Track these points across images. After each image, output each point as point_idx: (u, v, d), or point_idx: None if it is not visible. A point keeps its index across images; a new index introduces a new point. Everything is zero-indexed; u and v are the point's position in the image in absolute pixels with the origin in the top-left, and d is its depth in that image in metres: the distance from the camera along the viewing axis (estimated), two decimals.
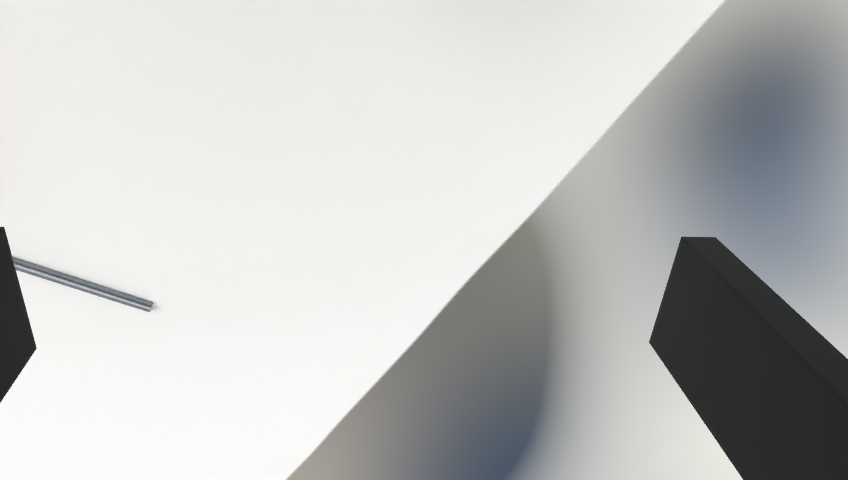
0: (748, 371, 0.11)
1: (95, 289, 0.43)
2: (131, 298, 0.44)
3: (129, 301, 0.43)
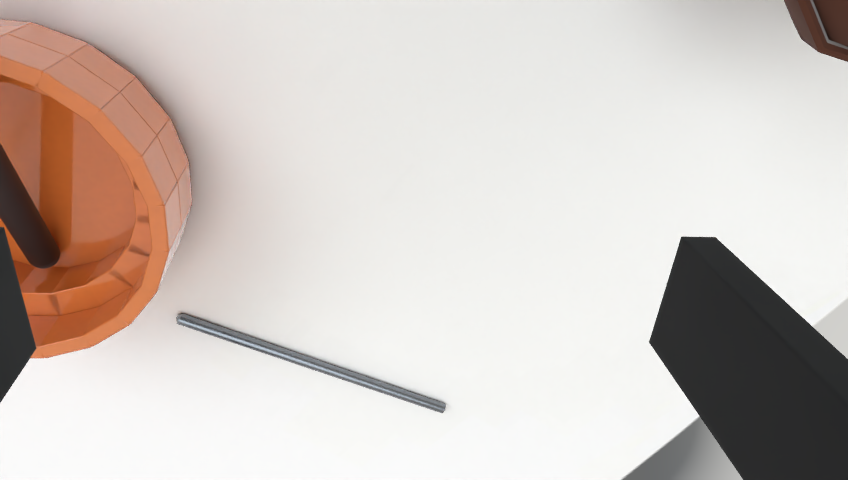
0: (748, 371, 0.11)
1: (398, 392, 0.43)
2: (428, 400, 0.44)
3: (426, 403, 0.44)
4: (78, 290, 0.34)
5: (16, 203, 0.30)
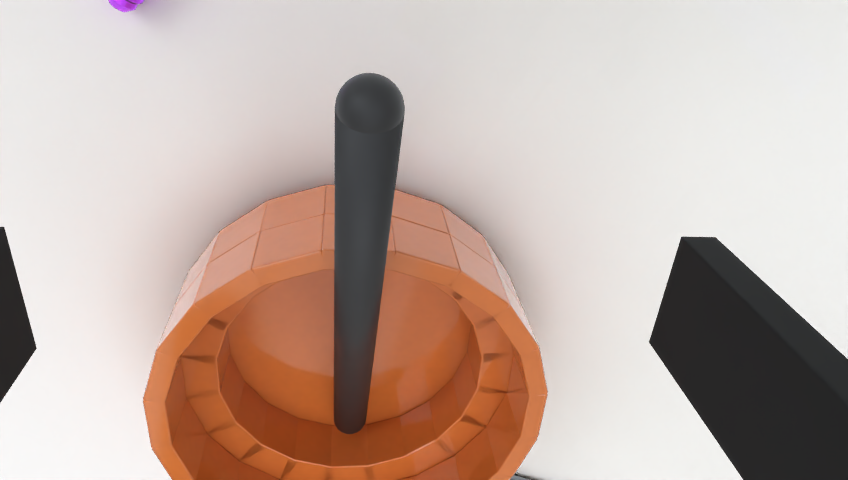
0: (748, 371, 0.11)
1: None
2: None
3: None
4: (397, 461, 0.30)
5: (366, 387, 0.27)
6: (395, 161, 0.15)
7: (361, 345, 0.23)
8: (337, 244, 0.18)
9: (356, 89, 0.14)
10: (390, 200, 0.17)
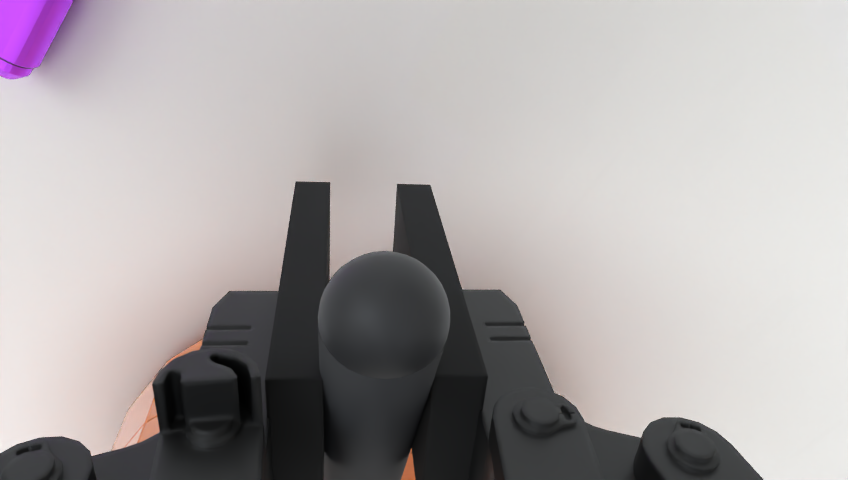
0: None
1: None
2: None
3: None
4: None
5: None
6: (428, 390, 0.09)
7: None
8: (326, 468, 0.11)
9: (358, 298, 0.07)
10: (415, 429, 0.10)
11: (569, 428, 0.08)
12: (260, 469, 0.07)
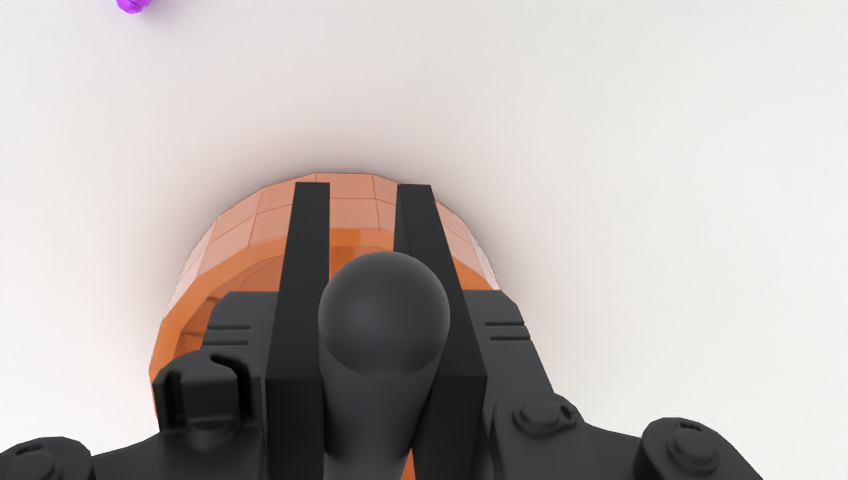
0: None
1: None
2: None
3: None
4: None
5: None
6: (428, 390, 0.09)
7: None
8: (326, 468, 0.11)
9: (359, 297, 0.07)
10: (415, 429, 0.10)
11: (569, 428, 0.08)
12: (260, 469, 0.07)
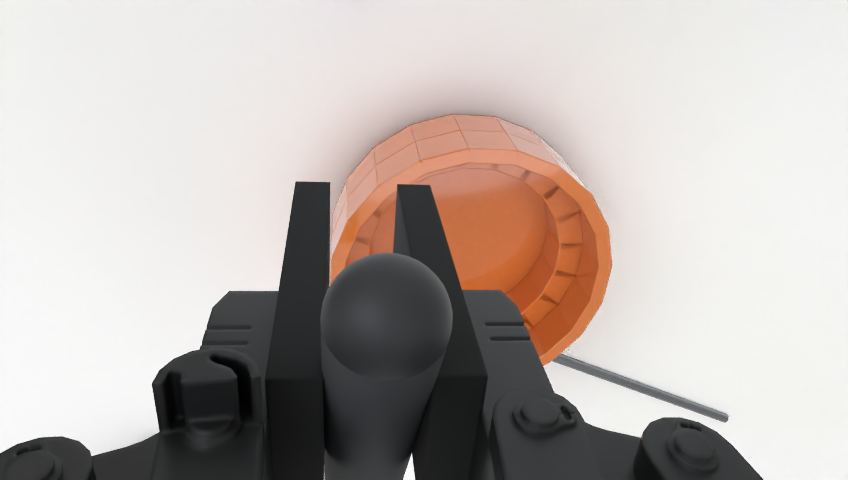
0: None
1: (692, 405, 0.50)
2: (715, 411, 0.50)
3: (714, 414, 0.50)
4: None
5: None
6: (430, 391, 0.09)
7: None
8: (328, 469, 0.11)
9: (361, 299, 0.07)
10: (417, 430, 0.10)
11: (569, 428, 0.08)
12: (260, 469, 0.07)
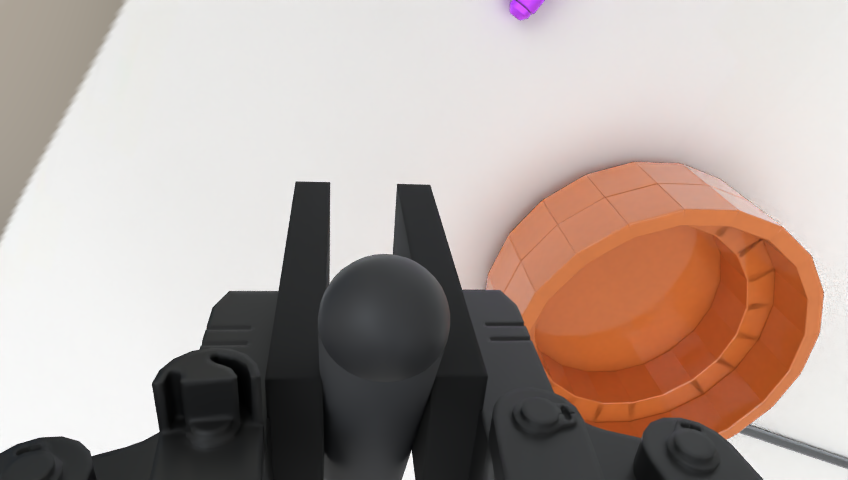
0: None
1: None
2: None
3: None
4: (656, 398, 0.36)
5: None
6: (428, 393, 0.09)
7: None
8: (326, 470, 0.11)
9: (358, 301, 0.07)
10: (415, 432, 0.10)
11: (569, 428, 0.08)
12: (260, 469, 0.07)
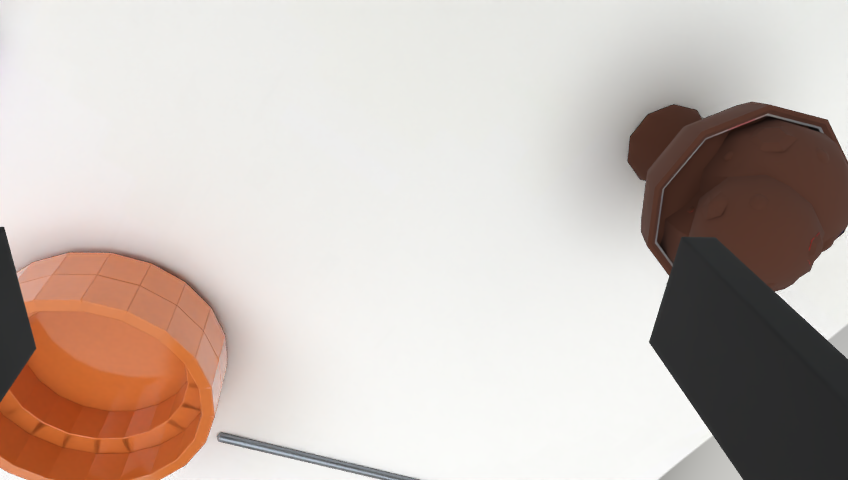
0: (748, 371, 0.11)
1: (396, 479, 0.53)
2: None
3: None
4: (144, 434, 0.44)
5: None
6: None
7: None
8: None
9: None
10: None
11: None
12: None
